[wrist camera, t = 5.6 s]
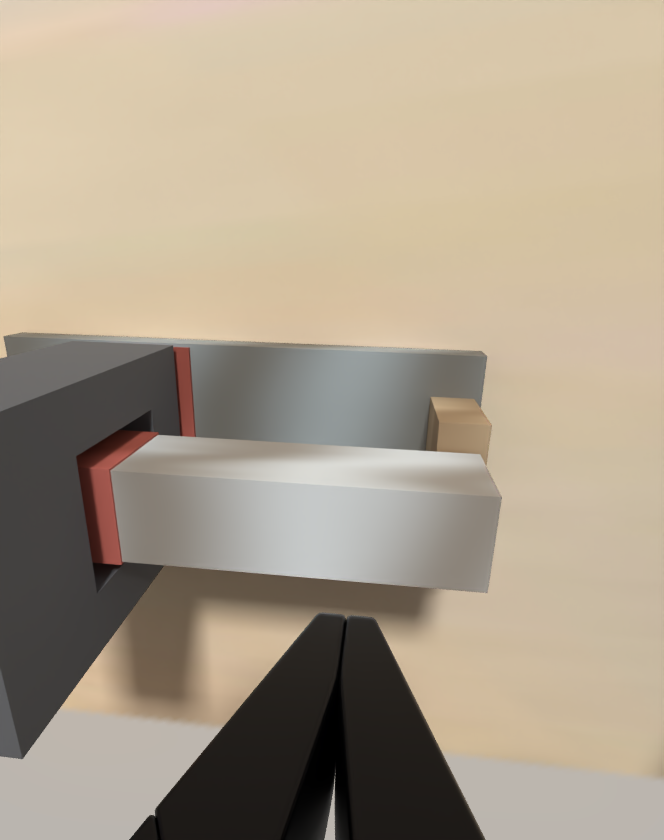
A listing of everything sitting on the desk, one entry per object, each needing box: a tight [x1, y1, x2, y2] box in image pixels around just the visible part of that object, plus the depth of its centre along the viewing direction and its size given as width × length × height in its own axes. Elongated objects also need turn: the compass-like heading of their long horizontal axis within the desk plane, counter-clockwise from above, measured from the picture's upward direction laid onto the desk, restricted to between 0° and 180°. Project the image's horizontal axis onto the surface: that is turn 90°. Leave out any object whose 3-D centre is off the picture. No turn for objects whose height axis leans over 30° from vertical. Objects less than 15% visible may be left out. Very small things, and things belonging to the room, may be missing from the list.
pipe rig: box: [4, 333, 502, 593], centre depth 13 cm, size 14×6×5 cm, turn 88°
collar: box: [0, 341, 180, 759], centre depth 11 cm, size 3×6×7 cm, turn 179°
